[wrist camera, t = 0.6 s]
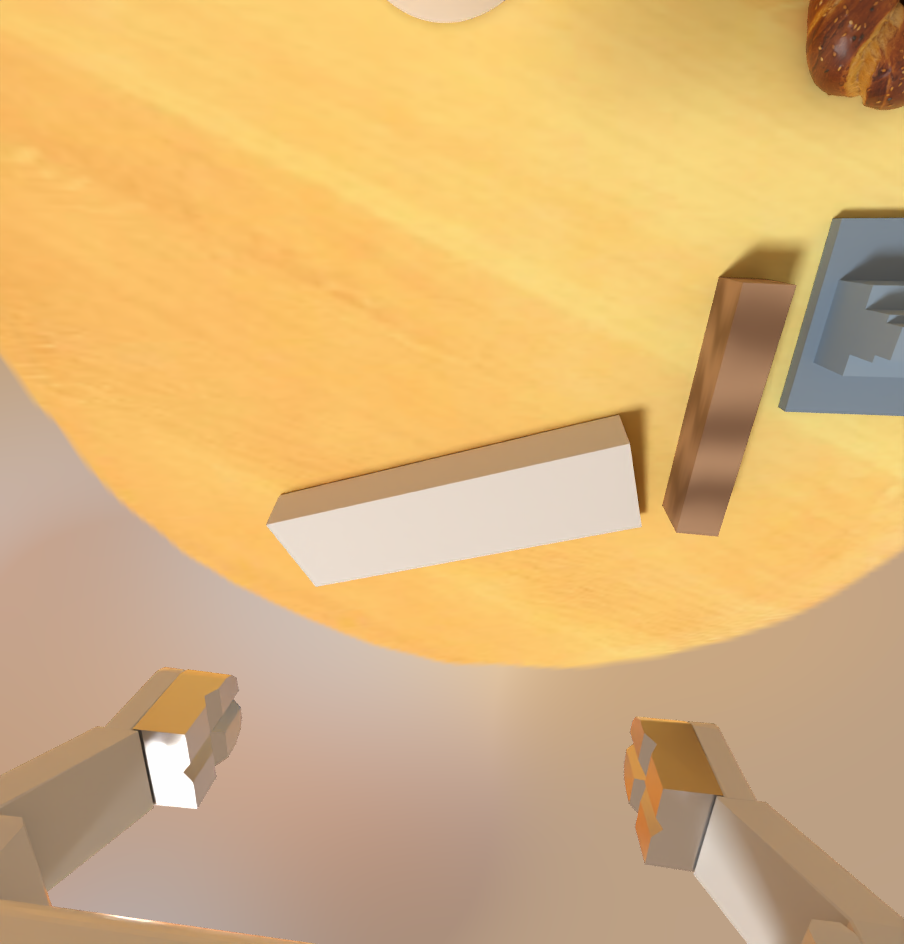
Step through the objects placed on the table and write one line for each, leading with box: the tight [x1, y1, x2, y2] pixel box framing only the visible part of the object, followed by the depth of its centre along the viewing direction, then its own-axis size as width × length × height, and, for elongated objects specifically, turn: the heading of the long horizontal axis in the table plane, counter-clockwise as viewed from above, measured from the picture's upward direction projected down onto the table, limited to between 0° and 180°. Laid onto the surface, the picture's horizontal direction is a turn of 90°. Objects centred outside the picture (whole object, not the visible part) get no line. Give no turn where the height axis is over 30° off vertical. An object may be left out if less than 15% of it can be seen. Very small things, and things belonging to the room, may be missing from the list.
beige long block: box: [266, 415, 642, 587], centre depth 49 cm, size 34×5×10 cm
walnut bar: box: [662, 277, 796, 536], centre depth 41 cm, size 20×3×5 cm, turn 178°
